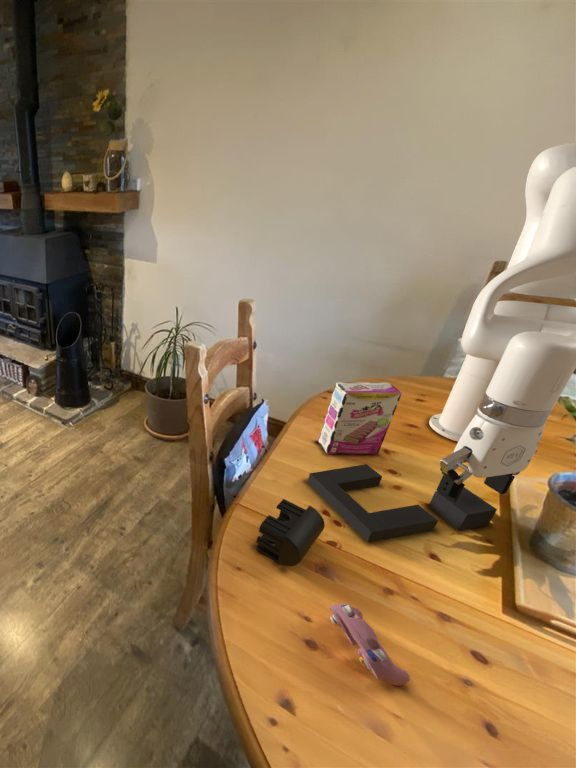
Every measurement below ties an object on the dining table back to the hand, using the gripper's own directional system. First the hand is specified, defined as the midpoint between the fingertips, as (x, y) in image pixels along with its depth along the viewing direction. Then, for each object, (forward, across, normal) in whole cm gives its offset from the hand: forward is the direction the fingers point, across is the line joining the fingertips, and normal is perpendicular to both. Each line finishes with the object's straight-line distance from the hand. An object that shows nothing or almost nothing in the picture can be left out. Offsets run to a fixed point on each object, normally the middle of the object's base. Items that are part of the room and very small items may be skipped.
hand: (470, 492), depth 74 cm
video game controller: (+7, -34, -18) cm, 39 cm away
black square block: (+6, 0, 0) cm, 6 cm away
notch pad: (+6, -12, +6) cm, 15 cm away
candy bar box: (+6, -4, +22) cm, 23 cm away
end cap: (+7, -34, 0) cm, 34 cm away
